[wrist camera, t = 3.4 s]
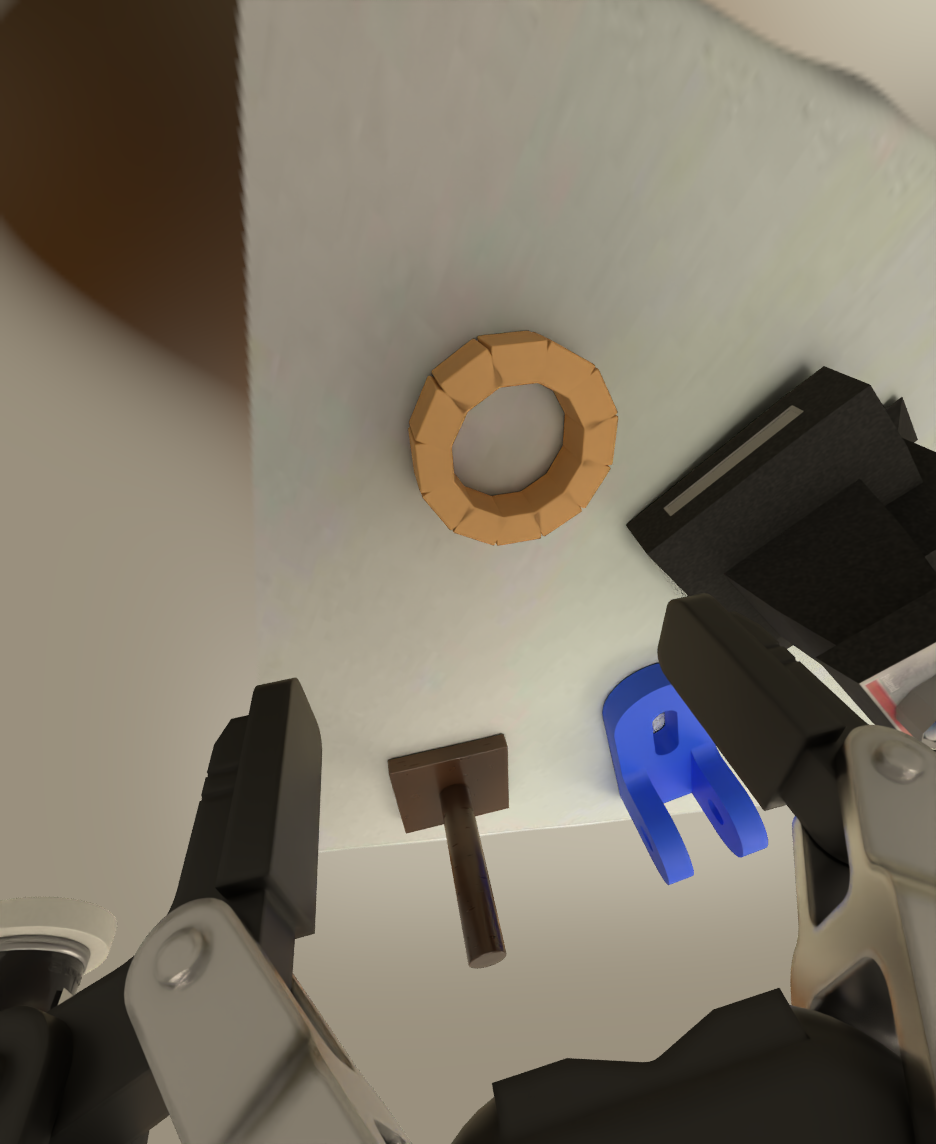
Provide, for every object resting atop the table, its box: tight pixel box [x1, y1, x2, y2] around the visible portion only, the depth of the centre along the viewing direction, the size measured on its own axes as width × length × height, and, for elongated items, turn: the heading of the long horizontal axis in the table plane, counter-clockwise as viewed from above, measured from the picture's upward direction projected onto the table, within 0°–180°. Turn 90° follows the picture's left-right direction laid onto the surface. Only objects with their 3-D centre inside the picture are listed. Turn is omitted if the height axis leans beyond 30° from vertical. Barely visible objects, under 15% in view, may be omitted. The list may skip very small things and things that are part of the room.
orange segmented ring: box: [408, 331, 618, 546], centre depth 22 cm, size 9×9×2 cm
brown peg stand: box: [388, 734, 509, 968], centre depth 34 cm, size 9×9×12 cm
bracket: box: [602, 663, 768, 885], centre depth 38 cm, size 18×8×9 cm, turn 18°
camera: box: [626, 366, 936, 749], centre depth 24 cm, size 16×14×15 cm
